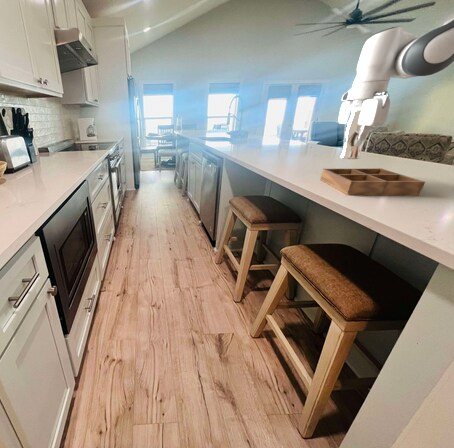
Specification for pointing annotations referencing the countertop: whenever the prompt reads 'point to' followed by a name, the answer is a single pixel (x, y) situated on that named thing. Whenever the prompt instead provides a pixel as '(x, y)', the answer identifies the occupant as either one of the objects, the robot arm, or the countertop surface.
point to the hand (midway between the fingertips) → (354, 139)
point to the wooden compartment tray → (371, 182)
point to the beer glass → (352, 137)
